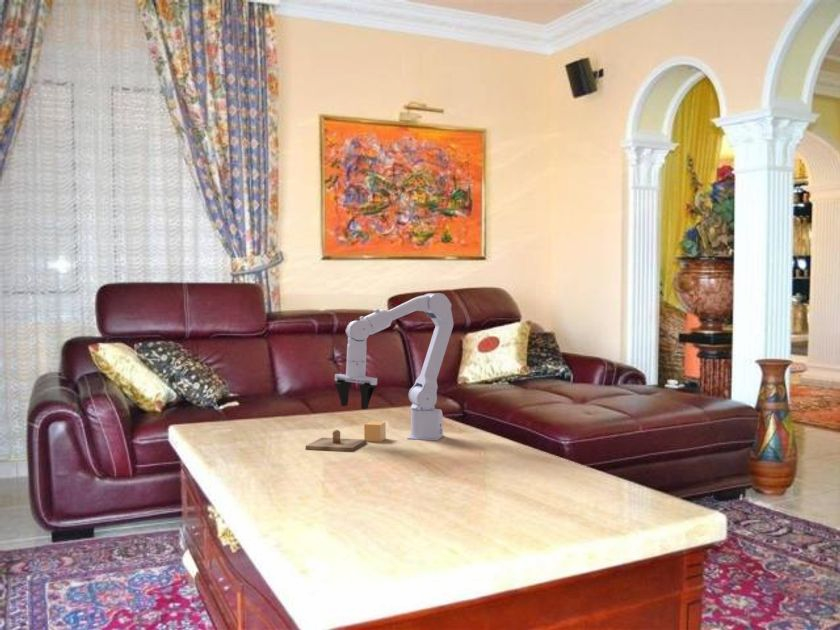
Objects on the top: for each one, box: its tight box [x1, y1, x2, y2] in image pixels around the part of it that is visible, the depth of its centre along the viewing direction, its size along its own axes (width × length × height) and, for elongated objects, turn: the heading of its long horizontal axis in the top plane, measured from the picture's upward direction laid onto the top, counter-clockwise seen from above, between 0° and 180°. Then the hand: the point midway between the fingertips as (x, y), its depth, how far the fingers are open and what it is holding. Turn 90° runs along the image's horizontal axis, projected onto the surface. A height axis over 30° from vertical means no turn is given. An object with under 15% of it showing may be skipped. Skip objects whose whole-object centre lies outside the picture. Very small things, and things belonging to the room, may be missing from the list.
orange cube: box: [363, 420, 386, 443], centre depth 222 cm, size 5×5×5 cm
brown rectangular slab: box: [305, 429, 368, 452], centre depth 213 cm, size 14×12×5 cm
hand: (354, 407), depth 218 cm, fingers open, 7 cm apart
